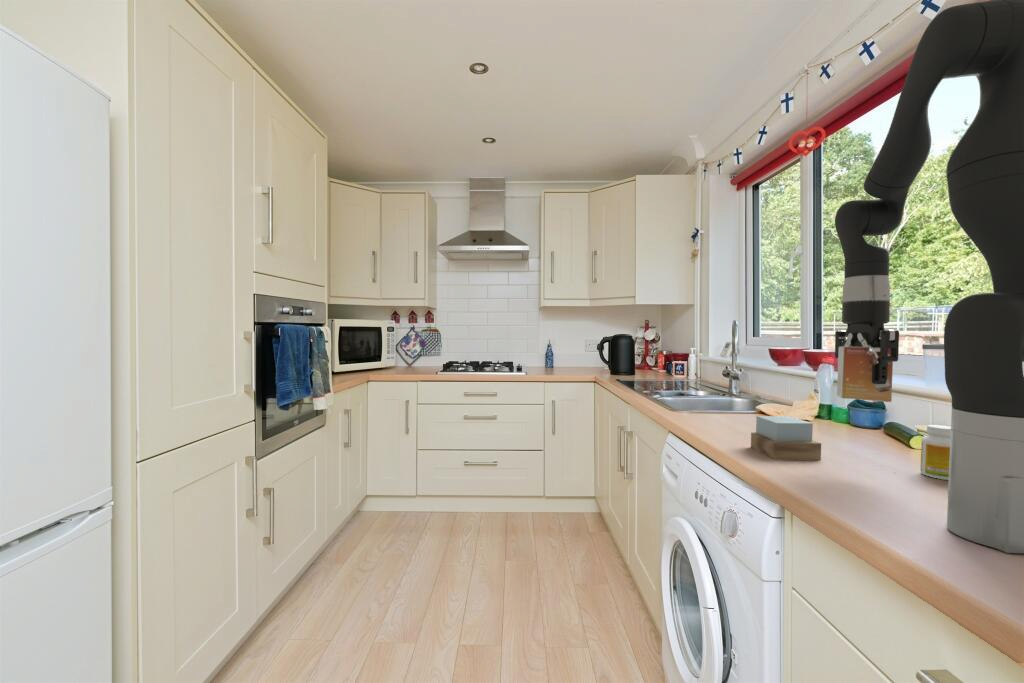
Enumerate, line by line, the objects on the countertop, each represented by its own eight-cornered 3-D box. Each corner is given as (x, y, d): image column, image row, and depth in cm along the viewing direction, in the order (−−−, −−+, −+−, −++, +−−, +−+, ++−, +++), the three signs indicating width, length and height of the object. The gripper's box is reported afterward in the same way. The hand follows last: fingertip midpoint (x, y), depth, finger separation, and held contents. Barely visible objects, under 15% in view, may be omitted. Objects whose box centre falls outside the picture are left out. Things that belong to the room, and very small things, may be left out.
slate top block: (812, 441, 100) (812, 423, 100) (776, 441, 99) (777, 423, 99) (789, 432, 108) (789, 416, 108) (756, 432, 107) (756, 416, 107)
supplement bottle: (966, 482, 85) (968, 430, 84) (932, 479, 86) (934, 429, 85) (944, 473, 90) (946, 424, 90) (913, 471, 91) (915, 423, 91)
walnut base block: (820, 461, 98) (821, 443, 98) (774, 461, 98) (774, 442, 98) (792, 449, 108) (793, 433, 108) (750, 448, 108) (751, 432, 108)
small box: (841, 399, 90) (842, 346, 90) (836, 396, 95) (837, 346, 95) (892, 402, 86) (893, 347, 86) (884, 399, 91) (886, 347, 91)
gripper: (915, 297, 83) (913, 386, 83) (858, 302, 97) (856, 378, 98) (874, 296, 83) (872, 385, 83) (822, 302, 98) (821, 378, 98)
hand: (863, 381), depth 91 cm, fingers closed on small box, 7 cm apart
